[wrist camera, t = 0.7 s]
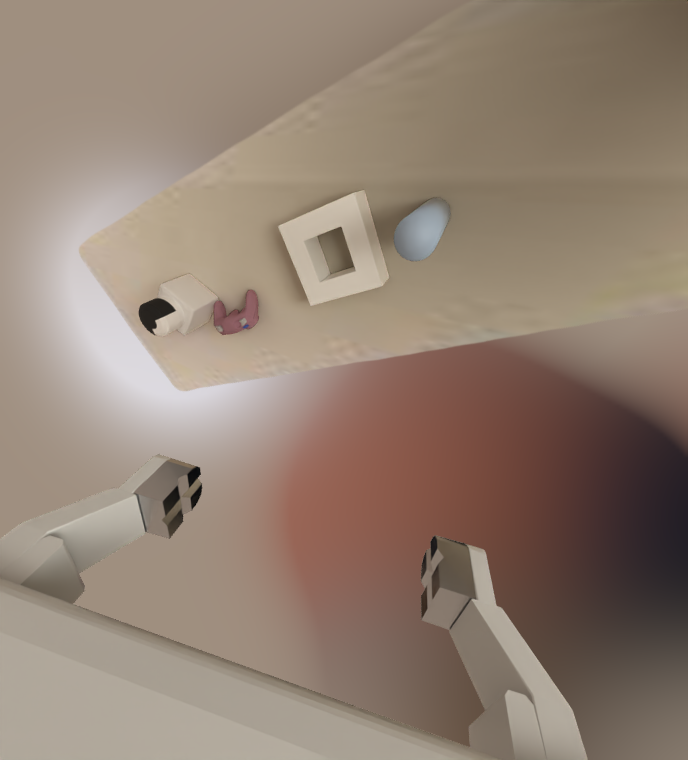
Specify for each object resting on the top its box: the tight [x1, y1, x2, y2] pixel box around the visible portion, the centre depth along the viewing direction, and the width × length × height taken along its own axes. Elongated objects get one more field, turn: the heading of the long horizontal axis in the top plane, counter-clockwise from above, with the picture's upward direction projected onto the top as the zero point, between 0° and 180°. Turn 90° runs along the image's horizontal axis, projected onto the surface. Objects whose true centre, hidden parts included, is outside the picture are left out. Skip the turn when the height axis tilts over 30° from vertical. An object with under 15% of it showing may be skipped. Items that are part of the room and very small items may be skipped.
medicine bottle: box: [139, 274, 218, 337], centre depth 57 cm, size 7×7×12 cm
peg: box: [394, 198, 451, 261], centre depth 35 cm, size 4×4×16 cm
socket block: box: [278, 190, 389, 306], centre depth 46 cm, size 12×12×4 cm
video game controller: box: [214, 290, 259, 335], centre depth 58 cm, size 10×5×7 cm, turn 111°
